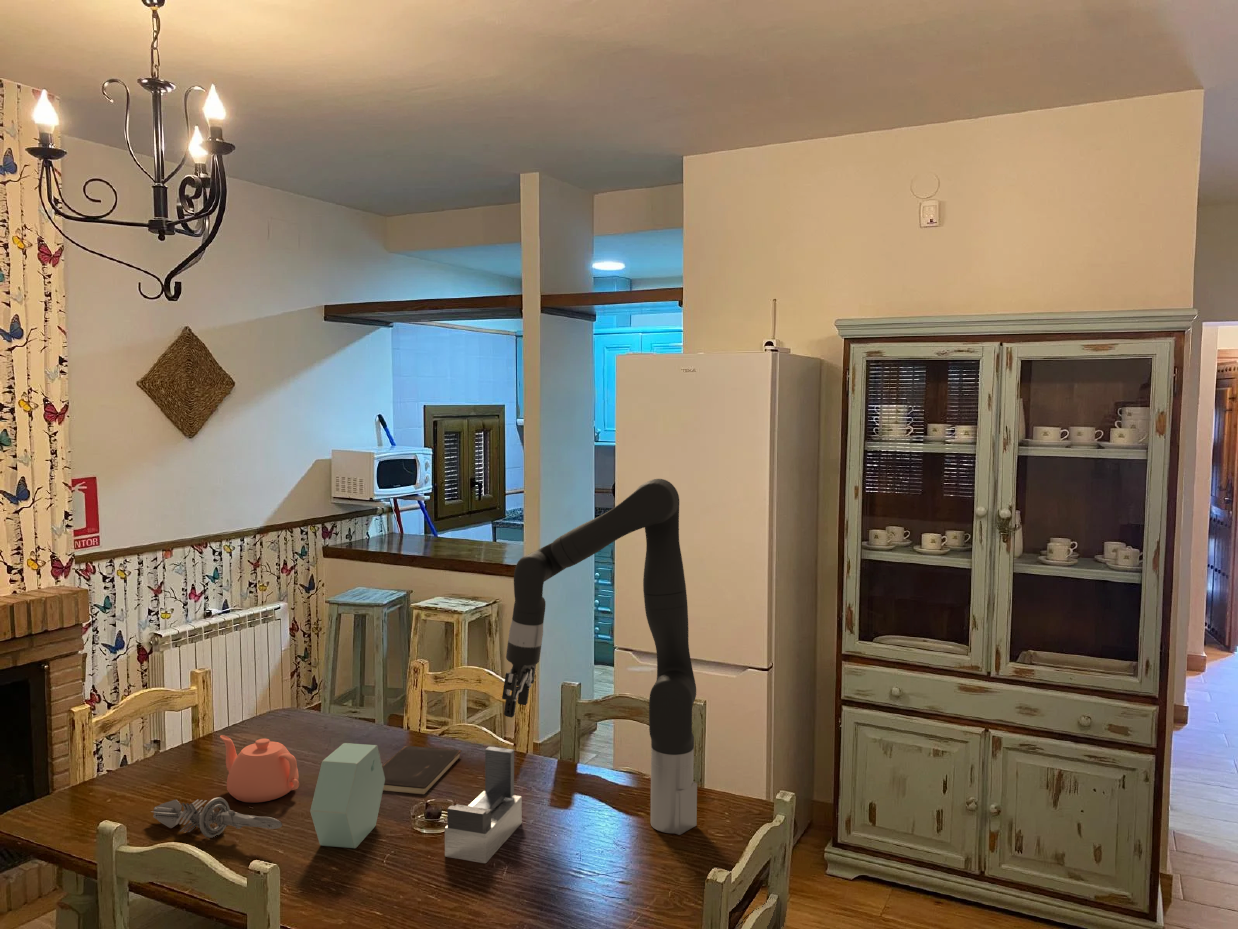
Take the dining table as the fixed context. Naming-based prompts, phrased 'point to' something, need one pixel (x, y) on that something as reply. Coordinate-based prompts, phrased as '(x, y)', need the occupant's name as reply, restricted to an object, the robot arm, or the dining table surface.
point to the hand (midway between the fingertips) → (515, 710)
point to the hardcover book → (417, 768)
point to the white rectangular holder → (480, 828)
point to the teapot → (260, 771)
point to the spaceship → (209, 817)
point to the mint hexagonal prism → (348, 795)
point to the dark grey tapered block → (497, 777)
